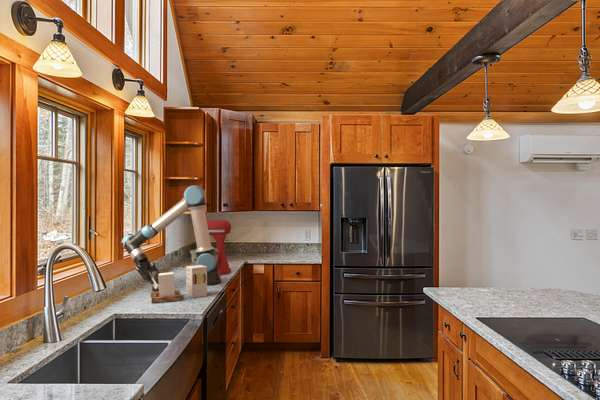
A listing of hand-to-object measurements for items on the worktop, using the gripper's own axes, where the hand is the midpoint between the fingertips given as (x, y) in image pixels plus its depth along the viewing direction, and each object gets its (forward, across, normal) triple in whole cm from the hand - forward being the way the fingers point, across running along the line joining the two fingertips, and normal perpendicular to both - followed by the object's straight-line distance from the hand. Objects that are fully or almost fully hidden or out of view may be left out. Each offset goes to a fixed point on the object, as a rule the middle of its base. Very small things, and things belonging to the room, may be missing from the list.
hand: (159, 286), depth 233 cm
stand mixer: (-8, -66, -15) cm, 68 cm away
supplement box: (+19, -7, +12) cm, 23 cm away
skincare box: (+13, +8, +6) cm, 16 cm away
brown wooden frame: (+8, +3, +3) cm, 9 cm away
